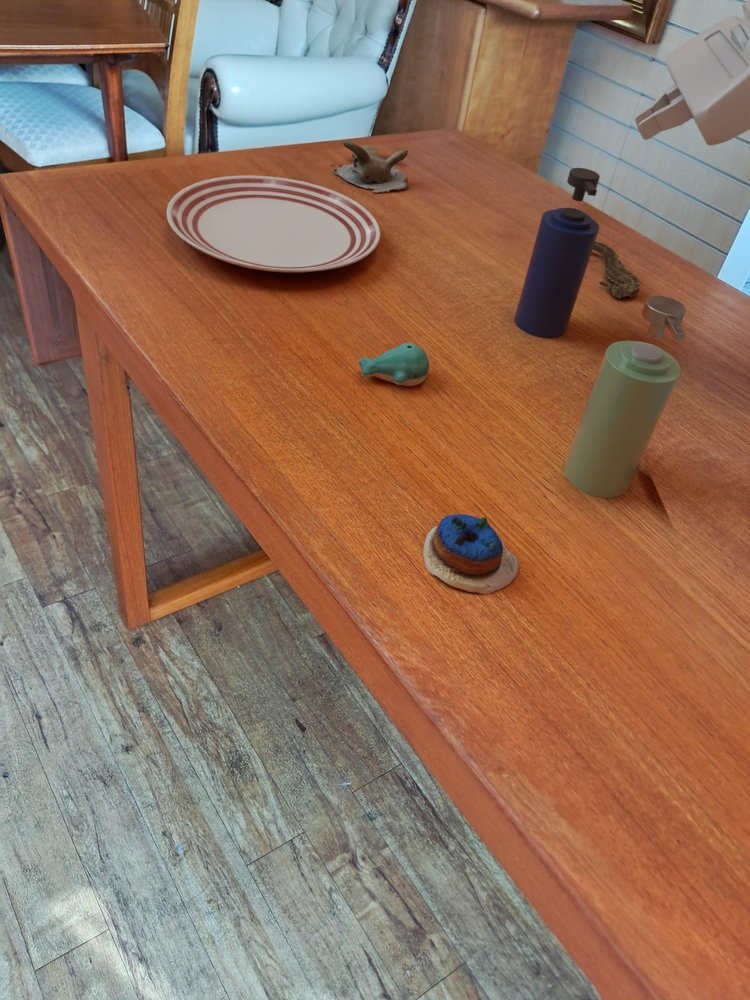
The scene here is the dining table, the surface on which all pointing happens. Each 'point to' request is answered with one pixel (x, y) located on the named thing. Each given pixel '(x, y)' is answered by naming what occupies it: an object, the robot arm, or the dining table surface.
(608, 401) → the bottle green
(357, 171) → the skull
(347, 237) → the dinner plate
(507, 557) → the dessert
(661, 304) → the grey round-capped part
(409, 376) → the whale figurine
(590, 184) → the black dispenser pump head
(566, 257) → the bottle navy
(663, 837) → the dining table surface
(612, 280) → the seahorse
